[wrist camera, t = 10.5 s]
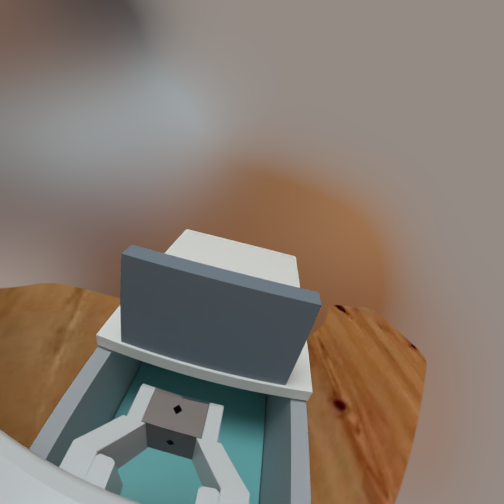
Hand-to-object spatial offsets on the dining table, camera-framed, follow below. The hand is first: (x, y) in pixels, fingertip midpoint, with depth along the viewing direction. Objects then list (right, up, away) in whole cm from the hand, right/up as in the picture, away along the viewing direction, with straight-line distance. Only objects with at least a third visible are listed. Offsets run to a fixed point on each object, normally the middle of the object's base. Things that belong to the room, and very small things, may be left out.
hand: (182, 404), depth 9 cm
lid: (0, +1, +21) cm, 21 cm away
